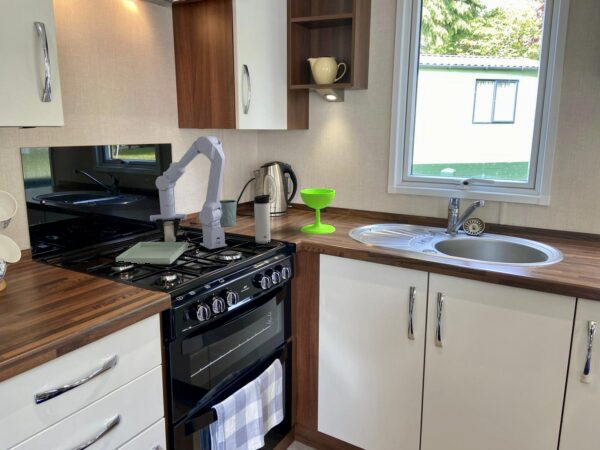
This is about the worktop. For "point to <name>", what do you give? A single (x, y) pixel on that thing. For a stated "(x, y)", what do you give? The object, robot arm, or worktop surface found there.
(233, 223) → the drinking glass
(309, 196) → the wineglass
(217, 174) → the robot arm
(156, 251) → the tray
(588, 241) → the worktop surface
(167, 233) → the spice pot
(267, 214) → the travel mug
